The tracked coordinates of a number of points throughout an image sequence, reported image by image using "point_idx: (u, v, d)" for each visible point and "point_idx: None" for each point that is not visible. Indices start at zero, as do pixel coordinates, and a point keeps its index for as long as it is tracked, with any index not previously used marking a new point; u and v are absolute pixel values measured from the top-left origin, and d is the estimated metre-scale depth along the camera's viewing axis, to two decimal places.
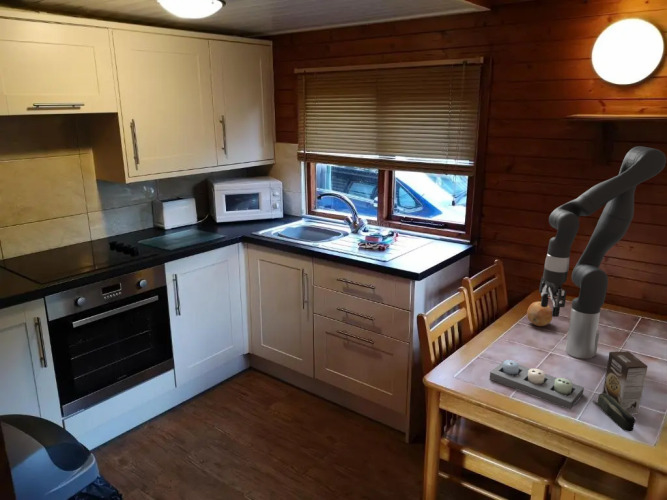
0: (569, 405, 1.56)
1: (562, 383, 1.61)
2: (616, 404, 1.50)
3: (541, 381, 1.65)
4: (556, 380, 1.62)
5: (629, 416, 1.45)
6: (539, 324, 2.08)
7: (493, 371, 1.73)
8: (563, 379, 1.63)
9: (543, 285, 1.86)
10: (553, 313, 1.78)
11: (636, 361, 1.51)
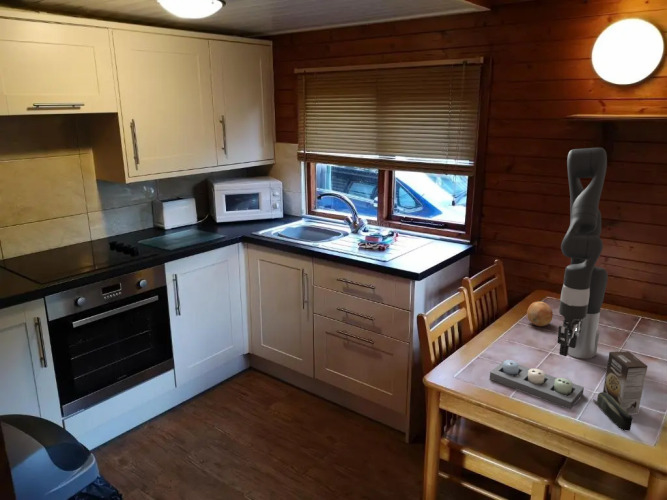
0: (569, 405, 1.56)
1: (562, 383, 1.61)
2: (614, 403, 1.51)
3: (541, 381, 1.65)
4: (556, 380, 1.62)
5: (626, 415, 1.46)
6: (539, 324, 2.08)
7: (493, 371, 1.73)
8: (563, 379, 1.63)
9: None
10: None
11: (636, 361, 1.51)
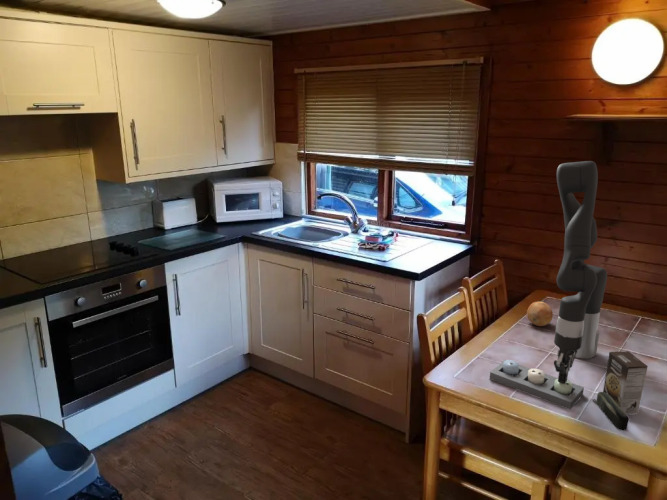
0: (569, 405, 1.56)
1: (562, 384, 1.61)
2: (612, 403, 1.51)
3: (541, 381, 1.65)
4: (556, 381, 1.62)
5: (622, 415, 1.46)
6: (539, 324, 2.08)
7: (493, 371, 1.73)
8: None
9: None
10: None
11: (636, 361, 1.51)
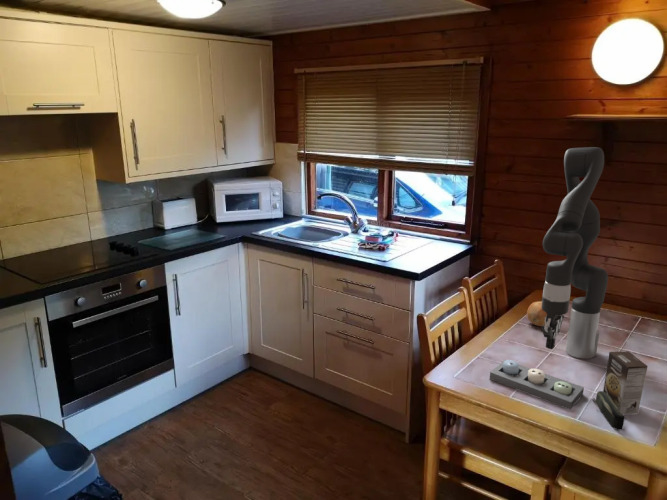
0: (569, 405, 1.56)
1: (562, 387, 1.61)
2: (610, 402, 1.51)
3: (541, 381, 1.65)
4: (556, 384, 1.63)
5: (618, 414, 1.46)
6: (539, 324, 2.08)
7: (493, 371, 1.73)
8: (563, 383, 1.63)
9: None
10: None
11: (636, 361, 1.51)
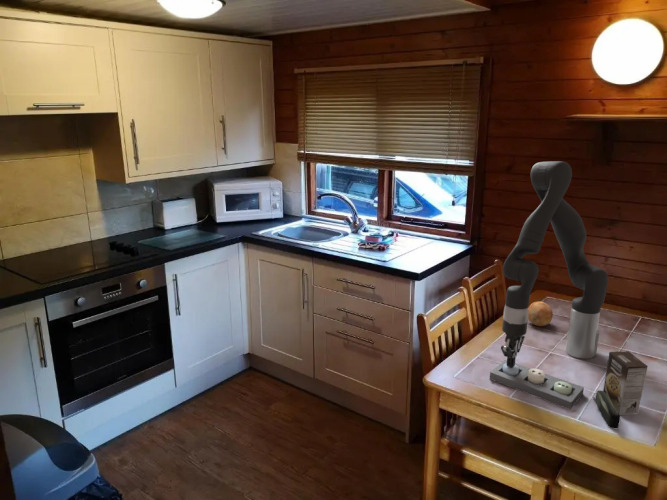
0: (569, 405, 1.56)
1: (562, 387, 1.61)
2: (607, 401, 1.52)
3: (541, 381, 1.65)
4: (556, 384, 1.63)
5: (614, 413, 1.47)
6: (539, 324, 2.08)
7: (493, 371, 1.73)
8: (563, 383, 1.63)
9: None
10: None
11: (636, 361, 1.51)
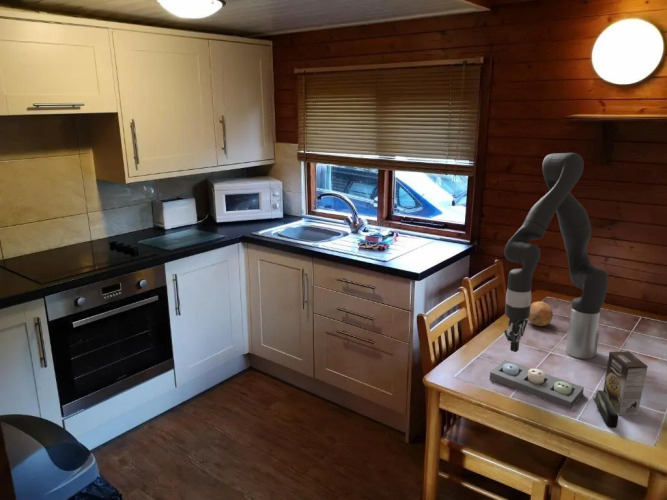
0: (569, 405, 1.56)
1: (562, 387, 1.61)
2: (606, 401, 1.52)
3: (541, 381, 1.65)
4: (556, 384, 1.63)
5: (612, 412, 1.47)
6: (539, 324, 2.08)
7: (493, 371, 1.73)
8: (563, 383, 1.63)
9: None
10: None
11: (636, 361, 1.51)
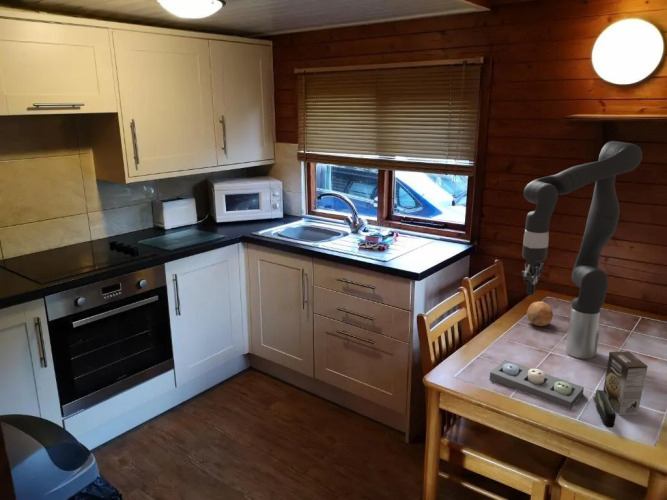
0: (569, 405, 1.56)
1: (562, 387, 1.61)
2: (605, 400, 1.52)
3: (541, 381, 1.65)
4: (556, 384, 1.63)
5: (610, 412, 1.47)
6: (539, 324, 2.08)
7: (493, 371, 1.73)
8: (563, 383, 1.63)
9: None
10: None
11: (636, 361, 1.51)
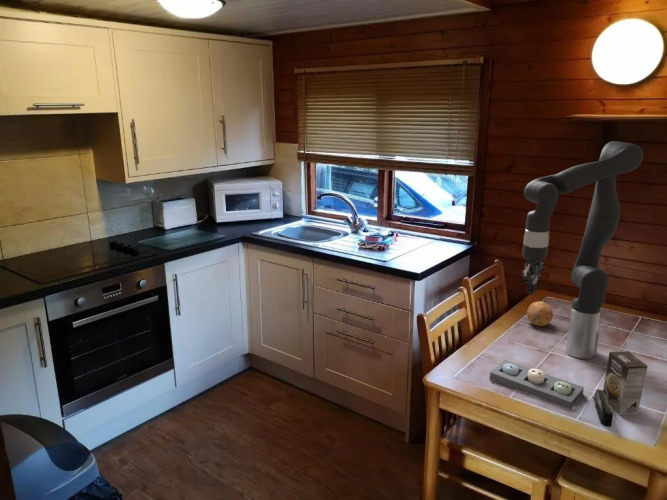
0: (569, 405, 1.56)
1: (562, 387, 1.61)
2: (603, 400, 1.52)
3: (541, 381, 1.65)
4: (556, 384, 1.63)
5: (607, 411, 1.48)
6: (539, 324, 2.08)
7: (493, 371, 1.73)
8: (563, 383, 1.63)
9: None
10: None
11: (636, 361, 1.51)
